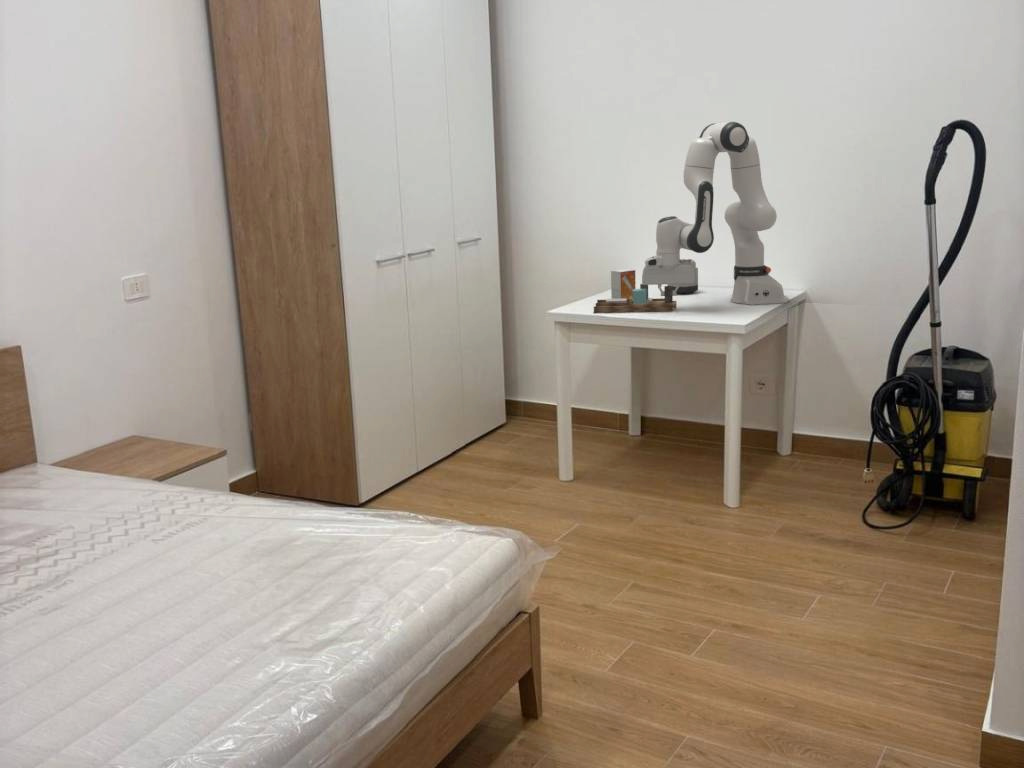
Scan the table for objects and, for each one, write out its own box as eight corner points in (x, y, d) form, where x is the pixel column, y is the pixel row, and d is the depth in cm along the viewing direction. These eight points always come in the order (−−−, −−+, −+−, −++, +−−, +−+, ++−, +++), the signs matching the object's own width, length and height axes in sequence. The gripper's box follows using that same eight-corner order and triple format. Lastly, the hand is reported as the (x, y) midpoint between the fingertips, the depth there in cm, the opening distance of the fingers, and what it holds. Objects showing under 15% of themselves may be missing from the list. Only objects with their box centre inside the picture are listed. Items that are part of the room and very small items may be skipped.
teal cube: (646, 301, 383) (646, 288, 381) (646, 303, 378) (646, 290, 377) (633, 301, 383) (633, 289, 382) (633, 303, 379) (632, 290, 377)
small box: (621, 303, 399) (620, 271, 396) (611, 302, 404) (610, 270, 401) (636, 301, 403) (635, 269, 400) (626, 299, 408) (625, 268, 405)
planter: (664, 291, 424) (664, 267, 422) (693, 290, 425) (693, 265, 423) (671, 296, 412) (671, 271, 409) (701, 294, 413) (701, 269, 411)
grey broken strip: (652, 302, 391) (652, 282, 389) (651, 305, 385) (651, 285, 383) (607, 303, 394) (606, 283, 392) (606, 306, 388) (605, 286, 386)
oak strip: (676, 305, 382) (676, 285, 380) (676, 308, 376) (676, 287, 374) (630, 306, 385) (629, 286, 383) (629, 309, 379) (628, 288, 377)
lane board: (672, 304, 391) (672, 298, 391) (672, 311, 375) (672, 305, 374) (597, 305, 396) (597, 299, 396) (593, 313, 380) (593, 306, 379)
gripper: (695, 258, 376) (695, 293, 379) (641, 259, 380) (642, 295, 383) (695, 260, 370) (696, 296, 373) (641, 261, 374) (641, 297, 377)
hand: (668, 295), depth 378 cm, fingers closed on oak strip, 3 cm apart
